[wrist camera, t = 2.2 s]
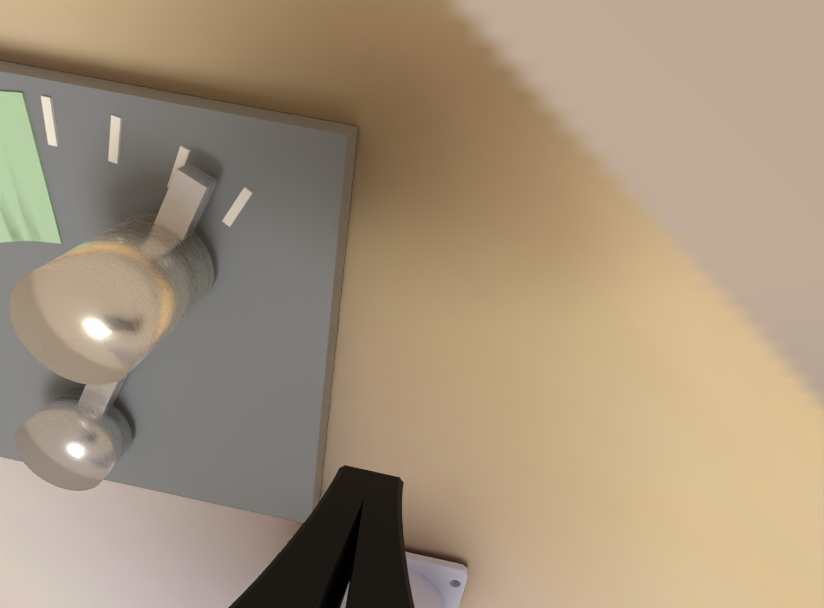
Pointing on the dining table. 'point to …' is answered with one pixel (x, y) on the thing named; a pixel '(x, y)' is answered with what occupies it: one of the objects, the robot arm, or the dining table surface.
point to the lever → (107, 327)
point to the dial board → (232, 286)
